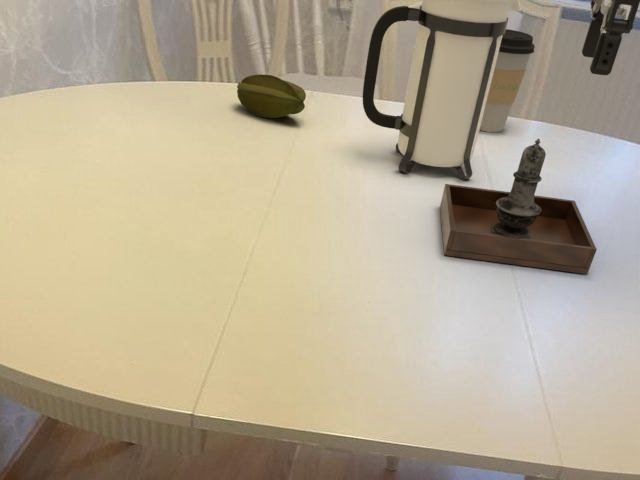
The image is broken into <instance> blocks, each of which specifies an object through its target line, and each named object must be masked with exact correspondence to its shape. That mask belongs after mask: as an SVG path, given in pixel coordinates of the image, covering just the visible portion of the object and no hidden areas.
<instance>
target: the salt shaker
mask: <svg viewBox="0 0 640 480" xmlns="http://www.w3.org/2000/svg"><path fill="white" fill-rule="evenodd" d="M534 143H535V144H531V145H529V146H526V147H525V148H524V149H523V151H522V153H521V158H520V160H519V164H518V166H517V167H518V168H517V171H515V172H513V174H512V175H513V177H514V179H513V181H512V182H513V183H512V186H511V188H510V191H509V192H510V193H509V195H508V197H504V198H500V199H498V200H497V201H496V206H497V210H496V211H497V218H498V219H499V221H500V222H501V223H498V224H495V225H493V226H492V227H491V231H492V233H493V234H496V235H503V236H511V237H519V238H526V239H530V237H531V233H530V232H529V231H528V230H527V229H526V227H528V226H530V225H531V224H532V223H533V222H534V221H535V220H536V218H537V215H539V214H540V213H541V208H540V207H539V206H538V205H537V204H535V203H534V195H535V194H536V191H537V187H538V185H539V183H540V182H541V181H542V180H543V179H542V177H541V173H542V169H543V166H544V162H545V159H546V156H547V153H546V150H545V149H544V148H543V147H542V146H541V145H540V144H541V139H540V138H537V139H536V140H535V141H534Z"/></svg>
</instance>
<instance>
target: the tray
mask: <svg viewBox="0 0 640 480" xmlns="http://www.w3.org/2000/svg"><path fill="white" fill-rule="evenodd" d="M510 192H511V191H503V190H496V189H488V188H481V187H474V186H466V185H465V186H464V185H457V184H451V183H450V184H449V183H445V184H444V187H443V192H442V196H441V200H440V205H439V208H440V209H439V211H440V222H441V231H442V244H443V254H444V256H449V257H456V258H464V259H469V260H477V261H478V260H479V261H486V262H494V263H500V264H507V265H516V266H524V267H531V268H538V269H545V270H553V271H560V272H568V273H574V274H583V275H588V273H589V271H590V268H591V266H592V264H593V261H594V258H595V255H596V253H597V246H596V245H595V243H594V241H593V240H594V239H593V238H592V235H591V234H590V232H589V229H588V227H587V225H586V223H585V220H584V218H583V216H582V213H581V211H580V209H579V207H578V204H577V203H576V200H573V199H565V198H557V197H549V196H544V195H543V196H542V195H535V194H534V203H535V204H537V205H538V206H539V207H540V208H541V213H540V214H539V215H537V218H536V220H535V221H534V222H533V223H532V224H531V225H530V226H528V227H526V229H527V230H528V231H529V232H530V233H531V237H530V239H526V238H519V237H511V236H503V235H496V234H493V233H492V231H491V227H492V226H493V225H495V224H498V223H501V222H500V221H499V219H498V218H497V211H496V210H497V206H496V201H497V200H498V199H500V198H504V197H508V195H509V193H510Z"/></svg>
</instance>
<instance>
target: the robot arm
mask: <svg viewBox="0 0 640 480" xmlns="http://www.w3.org/2000/svg"><path fill="white" fill-rule="evenodd" d="M639 6H640V0H590V9H591V10H590V18H591V19H590V23H589V26H588V30H587V33H586V36H585V39H584V41H583V46H582V49H581V54H582V56H583V57H585V58H591V59H592V60H591V63H590V67H589V70H590V73H591V74H593V75H600V76H608V75H610V74H611V73H612V70H613V68H614V64H615V62H616V58H617V56H618V52H619V49H620V46H621V43H622V39H623V38H625V36H626V35H629V34H630V33H631V31H632V30H633V27H634V21H635V19H636V15H637V12H638V9H639ZM616 16H620V17H621V18H618V17H616Z"/></svg>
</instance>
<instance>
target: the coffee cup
mask: <svg viewBox="0 0 640 480" xmlns="http://www.w3.org/2000/svg"><path fill="white" fill-rule="evenodd" d="M533 41H534V36H533V35H531V34H530V33H526V32H524V31H519V30H514V29H507V28H506V31H505V34H504V35H503V36H502V40H501V44H500V48H499V52H498V56H497V60H496V64H495V69H494V73H493V77H492V81H491V85H490V89H489V93H488V97H487V101H486V105H485V109H484V113H483V117H482V121H481V125H480V129H479V131H481V132H485V133H499V132H502V131H503V130H504V128H505V125H506V123H507V120H508V117H509V114H510V112H511V110H512V106H513V104H514V103H515V100H516V98H517V95H518V92H519V90H520V87H521V84H522V81H523V79H524V75H525V74H526V70H527V69H526V68H527V65H528V62H529V60H530V57H531V55H532V54H533V53H535V48H536V46H535V44H534V43H533Z"/></svg>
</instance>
